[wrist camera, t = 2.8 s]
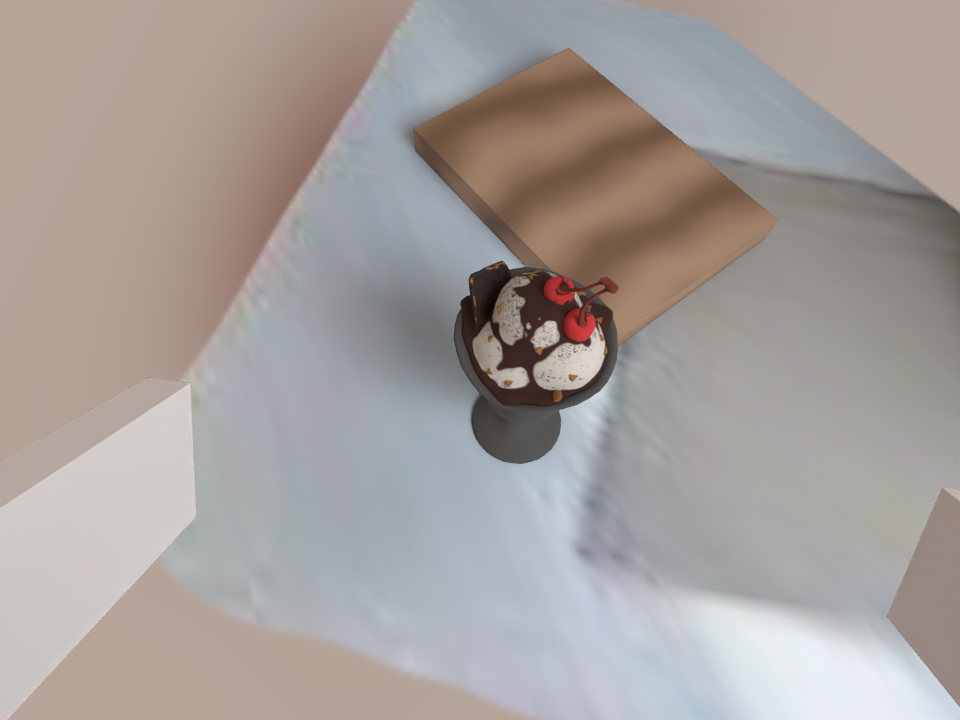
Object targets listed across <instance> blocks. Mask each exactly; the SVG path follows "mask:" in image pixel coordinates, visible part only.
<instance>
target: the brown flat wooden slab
mask: <svg viewBox="0 0 960 720" xmlns="http://www.w3.org/2000/svg"><path fill="white" fill-rule="evenodd" d="M413 129H414V139H415V149H416V152H417V153H418V154H419V155H420V156H421V157H422V158H423V159H424V160H425V161H426V162H427V163H428V164H429V165H430V166H431V167H432V168H433V170H434V171H435V172H436V173H437V174H438V175H439V176H440V177H441V178H442V179H443V180H444V181H445V182H446V183H447V184H448V185H449V186H450V187H451V188H452V189H453V191H454V192H455V193H456V194H457V195H458V196H459V197H460V198H461V199H462V200H463V201H464V202H465V203H466V204H467V205H468V206H469V207H470V208H471V209H472V210H473V211H474V213H475V214H476V215H477V216H478V217H479V218H480V219H481V220H482V221H483V222H484V223H485V224H486V225H487V226H488V227H489V228H490V229H491V230H492V231H493V232H494V233H495V235H496V236H497V237H498V238H499V239H500V240H501V241H502V242H503V243H504V244H505V245H506V246H507V247H508V248H509V249H510V250H511V251H512V252H513V253H514V254H515V256H516V257H517V258H518V259H519V260H520V261H521V262H522V263H523V264H524V265H525V266H526V267H532V268H540V269H545V270H549V271H553V272H556V273H558V274H561V275H563V276H565V277H567V278H570V279H572V280H574V281H576V282H578V283H580V284H581V285H583V286H585V287H587V286H589V285H592V284H594V283H597V282H599V280H600V278H603V277H609V278H610V279H611V280H612V281H613V282H614V283H615V284H617V285H618V286H619V290H618V291H617V293H616V294H614V293H609V292H605V293H603V294H601V295H599V296H598V297H599V298H600V299H601V300H602V301H603V302H604V303H605V304H606V305H607V307H609V308H610V309H611V310H612V311H613V319H614V323H615V326H616V329H617V335H618V346H619V345H621V344H622V343H624V342H625V341H626V340H628V339H629V338H630V337H632V336H633V335H634V334H636V333H637V332H638V331H640V330H641V329H643V328H644V327H645V326H647V325H648V324H649V323H651V322H652V321H653V320H655V319H656V318H657V317H659V316H660V315H662V314H663V313H664V312H666V311H667V310H668V309H670V308H671V307H672V306H674V305H675V304H676V303H678V302H679V301H681V300H682V299H683V298H685V297H686V296H687V295H689V294H690V293H691V292H693V291H694V290H696V289H697V288H698V287H700V286H701V285H702V284H704V283H705V282H706V281H708V280H709V279H710V278H712V277H713V276H715V275H716V274H717V273H719V272H720V271H721V270H723V269H724V268H725V267H727V266H728V265H729V264H731V263H732V262H734V261H735V260H736V259H738V258H739V257H740V256H742V255H743V254H744V253H746V252H747V251H748V250H750V249H751V248H753V247H754V246H755V245H757V244H758V243H759V242H761V241H762V240H763V239H764V238H765V237H766V235H767V234H768V233H769V231H770V230H771V229H772V227H773V226H774V225H775V223H776V222H777V221H778V219H777V218H775V217H774V216H773V215H772V214H771V213H769V212H768V211H767V210H766V209H764V208H763V207H762V206H761V205H760V204H758V203H757V202H756V201H755V200H753V199H752V198H751V197H750V196H749V195H747V194H746V193H745V192H744V191H743V190H741V189H740V188H739V187H738V186H736V185H735V184H734V183H733V182H732V181H730V180H729V179H728V178H727V177H725V176H724V175H723V174H722V173H721V172H719V171H718V170H717V169H716V168H715V167H713V166H712V165H711V164H710V163H708V162H707V161H706V160H705V159H704V158H702V157H701V156H700V155H699V154H697V153H696V152H695V151H694V150H693V149H691V148H690V147H689V146H688V145H687V144H685V143H684V142H683V141H682V140H680V139H679V138H678V137H677V136H676V135H674V134H673V133H672V132H671V131H669V130H668V129H667V128H666V127H665V126H663V125H662V124H661V123H660V122H659V121H657V120H656V119H655V118H654V117H652V116H651V115H650V114H649V113H648V112H646V111H645V110H644V109H643V108H641V107H640V106H639V105H638V104H637V103H635V102H634V101H633V100H632V99H631V98H629V97H628V96H627V95H626V94H624V93H623V92H622V91H621V90H620V89H618V88H617V87H616V86H615V85H613V84H612V83H611V82H610V81H609V80H607V79H606V78H605V77H604V76H603V75H601V74H600V73H599V72H598V71H596V70H595V69H594V68H593V67H592V66H590V65H589V64H588V63H587V62H585V61H584V60H583V59H582V58H581V57H579V56H578V55H577V54H576V53H575V52H573V51H572V50H571V49H570V48H567V49H565V50H563V51H561V52H559V53H557V54H556V55H554V56H552V57H550V58H548V59H546V60H544V61H542V62H540V63H538V64H536V65H534V66H532V67H531V68H529V69H527V70H525V71H523V72H521V73H519V74H517V75H515V76H513V77H511V78H509V79H508V80H506V81H504V82H502V83H500V84H498V85H496V86H494V87H492V88H490V89H488V90H486V91H484V92H483V93H481V94H479V95H477V96H475V97H473V98H471V99H469V100H467V101H465V102H463V103H461V104H460V105H458V106H456V107H454V108H452V109H450V110H448V111H446V112H444V113H442V114H440V115H438V116H436V117H435V118H433V119H431V120H429V121H427V122H425V123H423V124H421V125H419V126H417V127H415V128H413ZM604 288H605V286H604V285H598V286H595V287H593V288H590V290H591V291H592V292H593V293H595V294H596V293H598V292H599V291H601V290H603V289H604Z"/></svg>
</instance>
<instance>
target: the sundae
mask: <svg viewBox="0 0 960 720" xmlns="http://www.w3.org/2000/svg"><path fill="white" fill-rule="evenodd" d="M598 285H604V286H605V288H604V289H603V290H601V291H599V292H598V293H596V294H595V293H593V292H592V291H591V290H590V288H593V287H595V286H598ZM469 288H470V295H469V296H467V297H465V298H464V299H462V301H461V304H460V305H461V309H460V311H459V313H458V315H457V319H456V323H455V331H454V342H455V347H456V351H457V355H458V358H459V361H460V364H461V367H462V369H463V370H464V372H465V373H466V375H467V377H468V378H469V380H470V381H471V383H472V384H473V385H474V387H475V388H476V389H477V391H478V392H479V393H480V394H481V397H480V398H479V399H478V401H477V403H476V405H475V407H474V412H473V419H472V424H473V429H474V433H475V435H476V438H477V440H478V441H479V443H480V444H481V446H482V447H483V448H484V449H485V450H486V451H487V452H488V453H489V454H491V455H492V456H494V457H495V458H497V459H499V460H501V461H504V462H509V463H518V464H522V463H527V462H531V461H534V460H537V459H539V458H541V457H542V456H544V455H545V454H546V453H547V452H549V451H550V450H551V449H552V447H553V446H554V444H555V443H556V441H557V439H558V436H559V434H560V427H561V417H560V414H559V410H560V409H564V408H568V407H571V406H575V405H578V404H580V403H581V402H583V401H585V400H587V399H589V398H590V397H592V396H593V395H595V394H596V393H598V392H599V391H600V390H601V389H602V388H603V387H604V385H605V384H606V383H607V382H608V380H609V378H610V376H611V374H612V372H613V369H614V366H615V363H616V360H617V351H618V335H617V329H616V326H615V323H614V319H613V311H612V310H611V309H610V308H609V307H607V305H606V304H605V303H604V302H603V301H602V300H601V299H600V298H599V297H598V296H599V295H601V294H603V293H605V292H609V293H614V294H616V293H617V291H618V290H619V286H618V285H617V284H615V283H614V282H613V281H612V280H611V279H610V278H609V277H603V278H600V280H599V282H597V283H594V284H592V285H589V286H587V287H585V286H583V285H581V284H580V283H578V282H576V281H574V280H572V279H570V278H567V277H565V276H563V275H561V274H558V273H556V272H553V271H549V270H545V269H540V268H532V267H524V268H516V269H511V270H509V268H508V267H507V265H506V264H505V262H504V261H500V262H497V263H495V264H492V265H489V266H487V267H485V268H483V269H482V270H480V271H478V272H475V273H473V274H471V275H470V278H469Z"/></svg>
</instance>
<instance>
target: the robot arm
mask: <svg viewBox="0 0 960 720" xmlns="http://www.w3.org/2000/svg"><path fill="white" fill-rule="evenodd" d="M195 517H196V501H195V478H194V455H193V432H192V409H191V386H190V383H186V382H179V381H171V380H164V379H157V378H150V377H148V378H146V379H144V380H142V381H141V382H139V383H137V384H135V385H133V386H132V387H130V388H128V389H126V390H125V391H123V392H121V393H119V394H118V395H116V396H115V397H112V398H111V399H109V400H107V401H106V402H104V403H102V404H100V405H98V406H97V407H95V408H93V409H91V410H89V411H88V412H86V413H84V414H82V415H81V416H79V417H77V418H75V419H74V420H72V421H70V422H68V423H67V424H65V425H63V426H61V427H60V428H58V429H56V430H54V431H52V432H51V433H49V434H47V435H45V436H44V437H42V438H40V439H38V440H37V441H35V442H33V443H32V444H30V445H28V446H26V447H24V448H23V449H21V450H19V451H17V452H15V453H14V454H12V455H10V456H8V457H7V458H5V459H3V460H1V461H0V720H8V719H9V717H10V716H11V715H12V714H13V713H14V712H15V711H16V710H17V709H18V708H19V707H20V706H21V705H22V703H23V702H24V701H25V700H26V699H27V698H28V697H29V696H30V695H31V694H32V692H33V691H35V689H36V688H37V687H38V686H39V685H40V684H41V683H42V682H43V681H44V680H45V679H46V678H47V676H48V675H49V674H50V673H51V672H52V671H53V670H54V669H55V668H56V667H57V666H58V665H59V664H60V662H61V661H62V660H63V659H64V658H65V657H66V656H67V655H68V654H69V653H70V652H71V651H72V650H73V648H74V647H75V646H76V645H77V644H78V643H79V642H80V641H81V640H82V639H83V638H84V637H85V636H86V634H87V633H88V632H89V631H90V630H91V629H92V628H93V627H94V626H95V625H96V624H97V622H99V620H100V619H101V618H102V617H103V616H104V615H105V614H106V613H107V612H108V611H109V610H110V609H111V607H112V606H113V605H114V604H115V603H116V602H117V601H118V600H119V599H120V598H121V597H122V596H123V595H124V594H125V592H126V591H127V590H128V589H129V588H130V587H131V586H132V585H133V584H134V583H135V582H136V581H137V580H138V578H139V577H140V576H141V575H142V574H143V573H144V572H145V571H146V570H147V569H148V568H149V566H150V565H151V564H152V563H153V562H154V561H155V560H156V559H157V558H158V557H159V556H160V555H161V554H162V553H163V551H164V550H165V549H166V548H167V547H168V546H169V545H170V544H171V543H172V542H173V541H174V540H175V539H176V537H177V536H178V535H179V534H180V533H181V532H182V531H183V530H184V529H185V528H186V527H187V526H188V525H189V523H190V522H191V521H192V520H193V519H194V518H195ZM887 618H888V619H889V620H890V621H891V622H892V624H893V625H894V626H895V627H896V629H897V630H898V631H899V632H900V634H901V635H902V636H903V637H904V639H905V640H906V641H907V642H908V644H909V645H910V646H911V647H912V649H913V650H914V651H915V652H916V653H917V655H918V656H919V657H920V658H921V660H922V661H923V662H924V663H925V665H926V666H927V667H928V668H929V670H930V671H931V672H932V673H933V675H934V676H935V677H936V678H937V680H938V681H939V682H940V683H941V684H942V686H943V687H944V688H945V689H946V691H947V692H948V693H949V694H950V696H951V697H952V698H953V699H954V701H955V702H956V703H957V704H958V706H959V707H960V490H956V489H949V488H942V489H941V491H940V494H939V496H938V498H937V501H936V503H935V505H934V508H933V510H932V512H931V514H930V517H929V519H928V521H927V524H926V526H925V528H924V531H923V533H922V535H921V538H920V540H919V542H918V545H917V547H916V549H915V552H914V554H913V556H912V559H911V561H910V563H909V566H908V568H907V570H906V573H905V575H904V577H903V580H902V582H901V584H900V587H899V589H898V591H897V594H896V596H895V598H894V601H893V603H892V605H891V608H890V610H889V612H888V615H887Z"/></svg>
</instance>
